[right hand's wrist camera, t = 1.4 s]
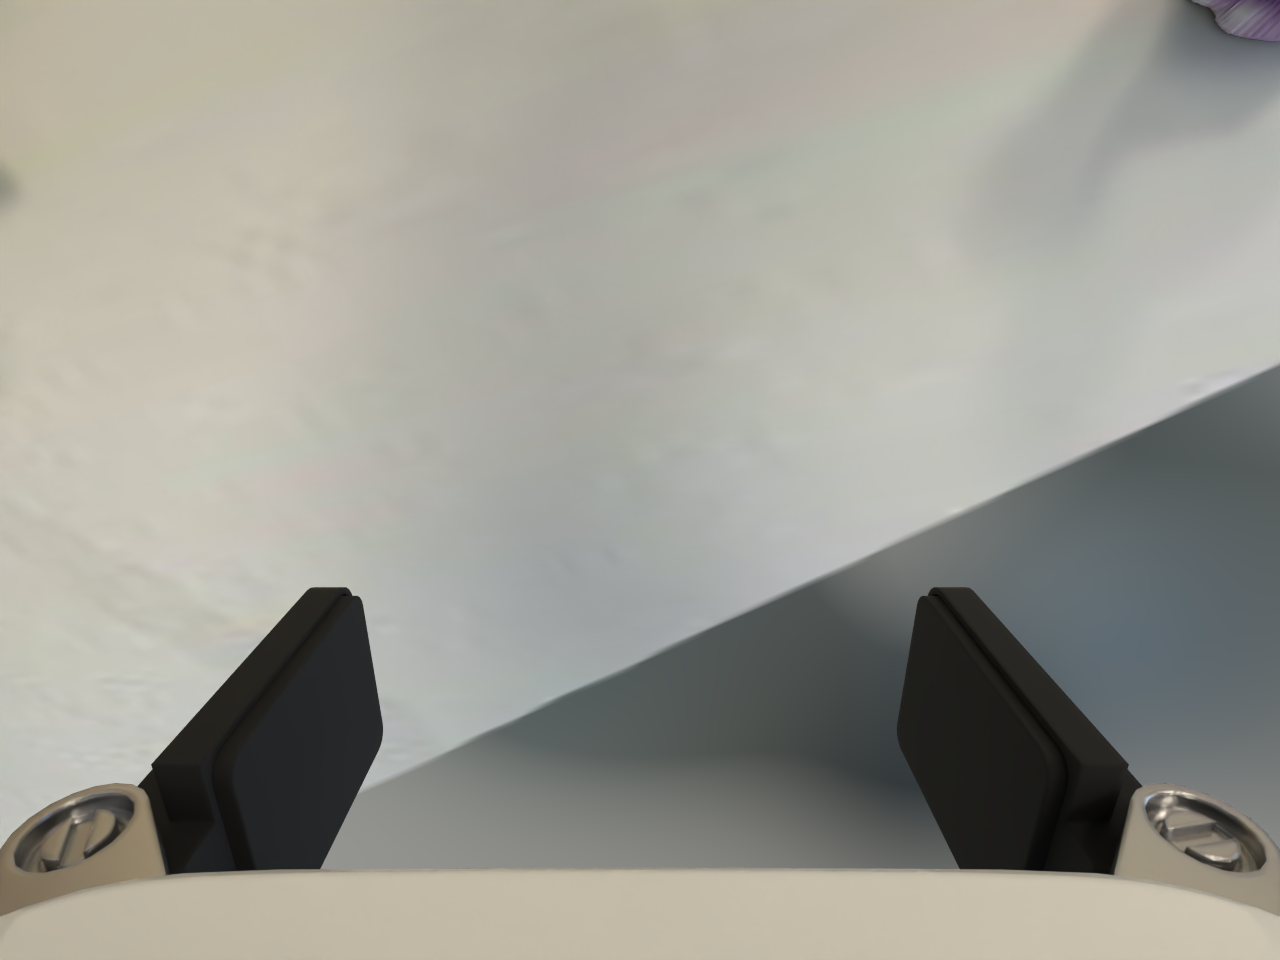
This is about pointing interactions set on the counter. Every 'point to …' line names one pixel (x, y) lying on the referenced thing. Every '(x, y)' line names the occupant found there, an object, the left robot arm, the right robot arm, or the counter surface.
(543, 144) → the counter surface
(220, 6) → the counter surface
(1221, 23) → the figurine
